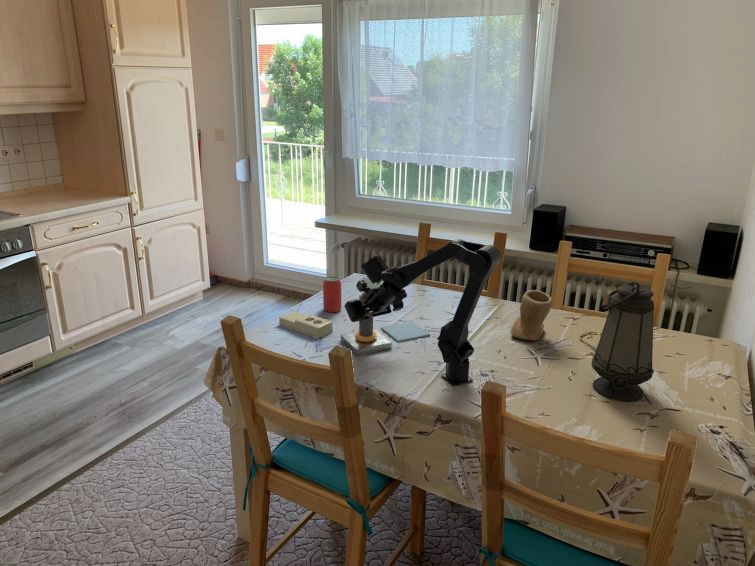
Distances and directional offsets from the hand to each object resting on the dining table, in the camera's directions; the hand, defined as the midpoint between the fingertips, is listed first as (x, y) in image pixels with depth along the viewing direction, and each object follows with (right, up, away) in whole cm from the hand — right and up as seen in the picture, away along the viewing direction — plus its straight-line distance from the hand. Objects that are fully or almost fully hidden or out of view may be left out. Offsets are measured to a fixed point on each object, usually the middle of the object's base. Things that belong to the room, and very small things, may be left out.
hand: (363, 317), depth 171 cm
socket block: (+1, -9, +2) cm, 9 cm away
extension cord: (+75, -9, +5) cm, 76 cm away
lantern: (+69, -18, -23) cm, 75 cm away
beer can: (-12, +1, +30) cm, 32 cm away
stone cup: (+55, -6, +12) cm, 57 cm away
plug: (+1, -9, +2) cm, 9 cm away
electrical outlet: (-20, -5, +13) cm, 24 cm away
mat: (+14, -6, +11) cm, 18 cm away
